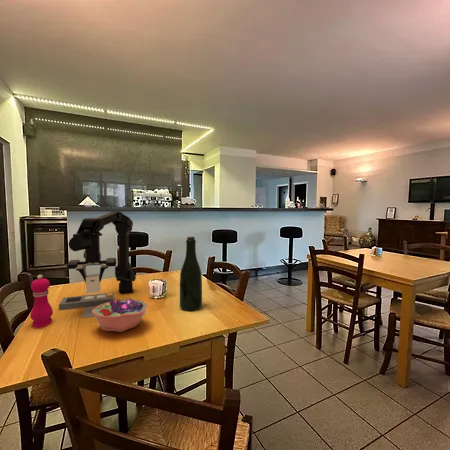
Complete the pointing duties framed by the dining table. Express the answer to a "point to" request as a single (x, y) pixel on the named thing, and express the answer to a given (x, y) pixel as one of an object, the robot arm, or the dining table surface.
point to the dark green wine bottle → (190, 279)
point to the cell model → (120, 314)
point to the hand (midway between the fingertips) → (93, 282)
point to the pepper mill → (41, 303)
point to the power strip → (85, 301)
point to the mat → (88, 312)
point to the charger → (92, 283)
